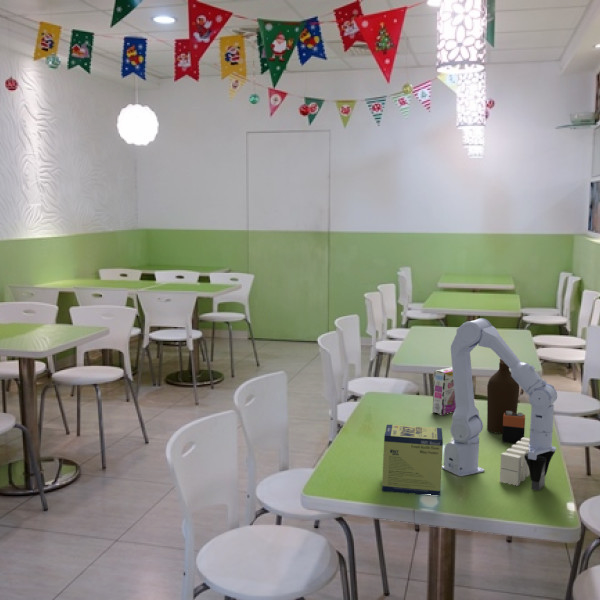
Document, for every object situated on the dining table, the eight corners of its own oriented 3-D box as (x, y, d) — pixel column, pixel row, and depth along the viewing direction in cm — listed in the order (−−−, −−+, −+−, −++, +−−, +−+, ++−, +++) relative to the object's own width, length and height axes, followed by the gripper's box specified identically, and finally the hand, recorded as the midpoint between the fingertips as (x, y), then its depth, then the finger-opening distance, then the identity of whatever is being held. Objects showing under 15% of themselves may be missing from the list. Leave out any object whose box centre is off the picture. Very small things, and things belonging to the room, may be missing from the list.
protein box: (441, 496, 180) (443, 439, 179) (381, 491, 183) (383, 435, 181) (440, 481, 191) (442, 427, 189) (383, 477, 193) (385, 423, 191)
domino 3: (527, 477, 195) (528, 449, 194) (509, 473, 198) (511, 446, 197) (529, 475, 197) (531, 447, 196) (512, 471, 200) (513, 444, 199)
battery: (502, 438, 229) (503, 409, 228) (523, 441, 227) (525, 411, 226) (501, 442, 225) (503, 412, 224) (523, 445, 223) (525, 415, 222)
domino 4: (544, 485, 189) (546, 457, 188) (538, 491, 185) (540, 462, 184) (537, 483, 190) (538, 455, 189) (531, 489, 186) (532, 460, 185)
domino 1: (517, 486, 188) (519, 457, 187) (499, 481, 191) (501, 454, 190) (519, 483, 190) (521, 455, 189) (502, 479, 193) (503, 452, 192)
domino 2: (522, 481, 192) (524, 453, 191) (504, 477, 195) (506, 450, 194) (524, 479, 193) (526, 451, 192) (507, 475, 196) (508, 448, 195)
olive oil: (505, 436, 231) (509, 363, 228) (478, 429, 239) (482, 358, 236) (523, 431, 238) (527, 360, 235) (497, 423, 246) (500, 354, 243)
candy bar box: (443, 416, 255) (444, 372, 253) (431, 413, 258) (433, 370, 256) (460, 410, 262) (462, 368, 260) (449, 408, 266) (451, 366, 264)
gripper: (548, 439, 178) (545, 489, 179) (563, 425, 189) (561, 473, 191) (521, 433, 182) (518, 483, 183) (538, 421, 193) (535, 467, 195)
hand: (538, 478), depth 187 cm, fingers closed on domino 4, 5 cm apart
